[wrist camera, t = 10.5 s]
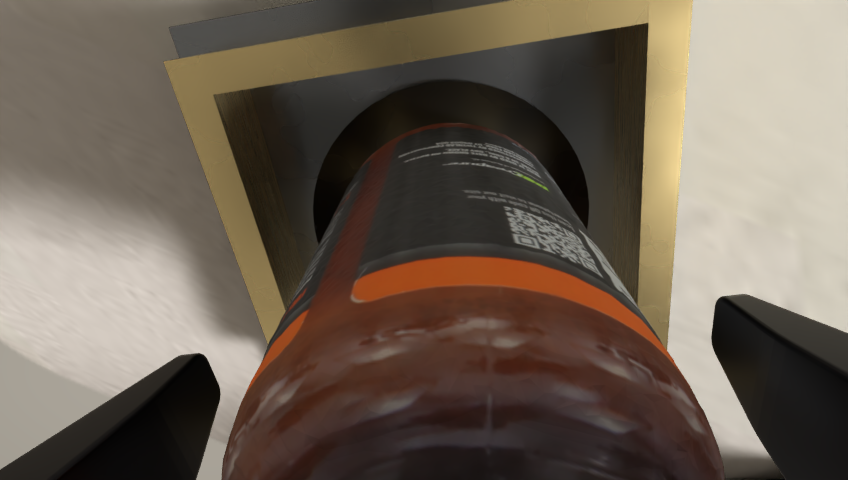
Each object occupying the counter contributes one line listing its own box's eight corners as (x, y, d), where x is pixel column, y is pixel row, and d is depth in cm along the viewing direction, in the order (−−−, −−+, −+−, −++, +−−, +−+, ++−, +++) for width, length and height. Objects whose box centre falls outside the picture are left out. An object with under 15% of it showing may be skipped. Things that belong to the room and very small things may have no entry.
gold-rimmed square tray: (640, 336, 17) (687, 413, 14) (312, 369, 18) (283, 447, 15) (658, -59, 12) (739, -83, 9) (198, 25, 13) (117, 31, 10)
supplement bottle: (366, 322, 15) (199, 1003, 5) (322, 132, 12) (-250, 720, 2) (562, 304, 14) (853, 1031, 4) (558, 100, 12) (1291, 696, 2)
